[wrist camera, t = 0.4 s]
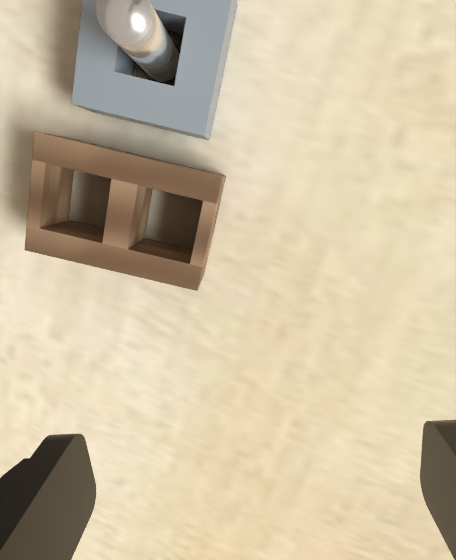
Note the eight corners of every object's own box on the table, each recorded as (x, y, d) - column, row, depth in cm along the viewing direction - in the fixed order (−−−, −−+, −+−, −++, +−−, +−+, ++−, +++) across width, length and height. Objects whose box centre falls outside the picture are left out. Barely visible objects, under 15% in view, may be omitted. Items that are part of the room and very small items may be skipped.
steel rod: (146, 35, 30) (99, -28, 21) (183, 44, 30) (154, -15, 21) (140, 76, 31) (92, 34, 21) (176, 85, 31) (145, 46, 21)
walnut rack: (65, 137, 33) (34, 131, 28) (225, 176, 33) (222, 176, 28) (55, 239, 35) (24, 250, 30) (204, 274, 35) (197, 290, 30)
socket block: (109, -27, 29) (88, -57, 25) (237, 4, 29) (235, -20, 25) (92, 111, 32) (71, 103, 28) (209, 140, 32) (204, 136, 28)
